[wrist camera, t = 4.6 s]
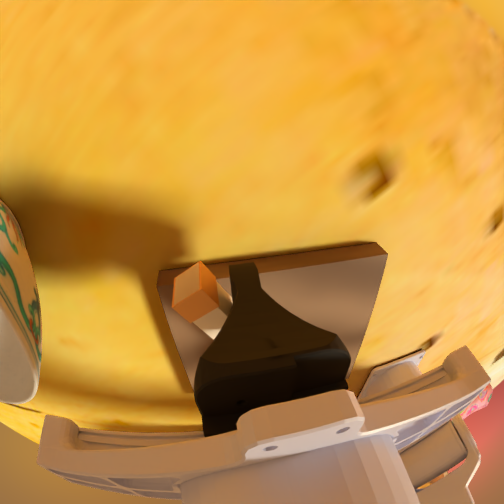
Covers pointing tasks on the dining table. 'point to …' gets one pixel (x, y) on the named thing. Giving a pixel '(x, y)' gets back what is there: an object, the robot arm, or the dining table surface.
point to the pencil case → (478, 402)
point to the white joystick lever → (201, 299)
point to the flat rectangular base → (295, 294)
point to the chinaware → (18, 315)
